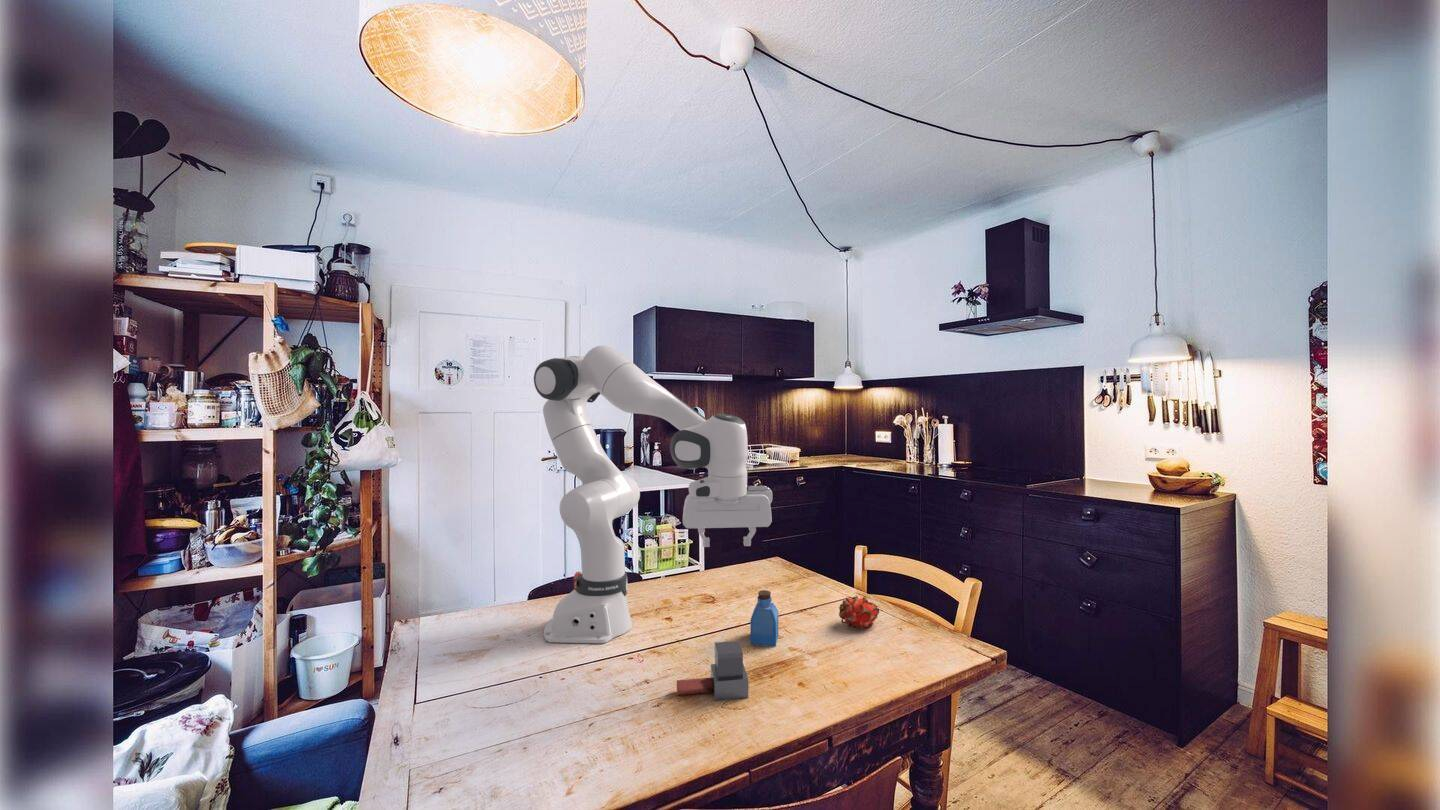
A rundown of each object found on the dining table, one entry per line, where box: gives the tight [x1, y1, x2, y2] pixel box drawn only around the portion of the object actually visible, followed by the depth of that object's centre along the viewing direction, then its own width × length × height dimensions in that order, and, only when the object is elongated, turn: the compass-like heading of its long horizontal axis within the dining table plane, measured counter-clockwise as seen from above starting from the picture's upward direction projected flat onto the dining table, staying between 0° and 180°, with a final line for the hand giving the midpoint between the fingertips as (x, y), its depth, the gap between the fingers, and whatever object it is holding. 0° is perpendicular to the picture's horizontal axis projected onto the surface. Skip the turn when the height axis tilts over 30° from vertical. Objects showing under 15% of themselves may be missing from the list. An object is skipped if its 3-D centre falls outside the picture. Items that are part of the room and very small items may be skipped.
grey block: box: [714, 640, 744, 679], centre depth 123 cm, size 5×5×5 cm
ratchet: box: [676, 663, 749, 701], centre depth 123 cm, size 14×7×7 cm, turn 97°
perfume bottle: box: [749, 589, 779, 647], centre depth 145 cm, size 6×6×12 cm
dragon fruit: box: [838, 595, 880, 631], centre depth 153 cm, size 8×8×12 cm
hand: (726, 545), depth 134 cm, fingers open, 8 cm apart
